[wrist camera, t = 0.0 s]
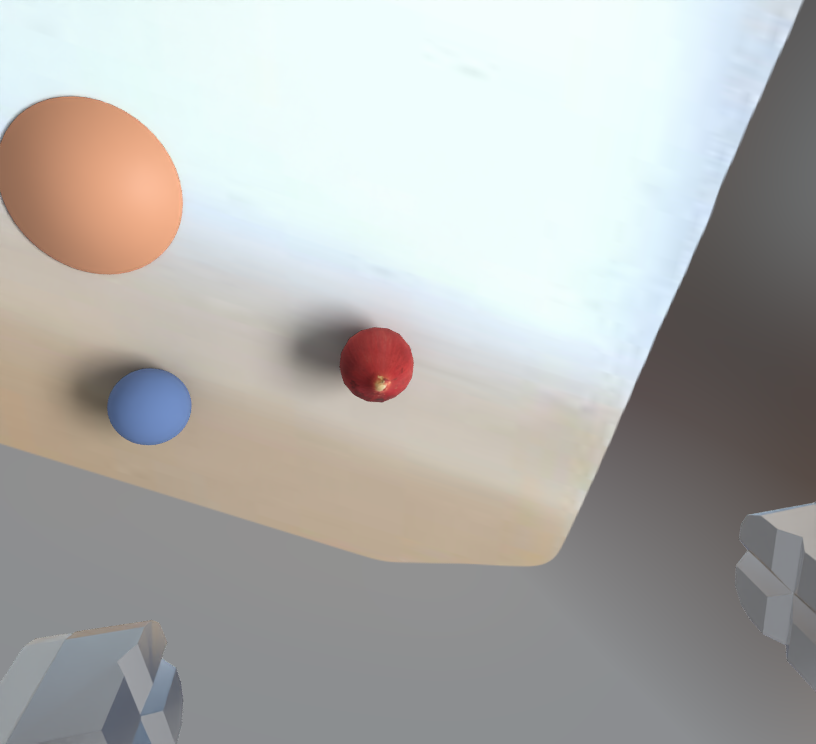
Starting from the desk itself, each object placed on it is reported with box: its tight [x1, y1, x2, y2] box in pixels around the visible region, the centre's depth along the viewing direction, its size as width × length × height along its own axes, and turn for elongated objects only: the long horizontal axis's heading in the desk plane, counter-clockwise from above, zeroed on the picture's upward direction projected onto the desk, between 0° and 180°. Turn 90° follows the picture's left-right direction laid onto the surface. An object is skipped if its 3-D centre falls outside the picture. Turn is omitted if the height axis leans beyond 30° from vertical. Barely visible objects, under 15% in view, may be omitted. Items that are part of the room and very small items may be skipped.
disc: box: [0, 96, 183, 274], centre depth 40 cm, size 12×12×1 cm
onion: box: [340, 327, 414, 402], centre depth 45 cm, size 6×6×8 cm
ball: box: [107, 368, 191, 445], centre depth 45 cm, size 6×6×6 cm
